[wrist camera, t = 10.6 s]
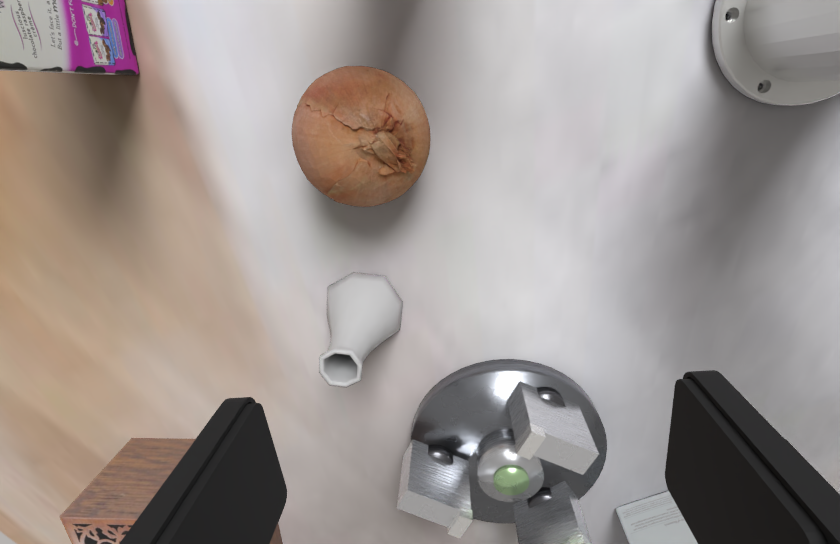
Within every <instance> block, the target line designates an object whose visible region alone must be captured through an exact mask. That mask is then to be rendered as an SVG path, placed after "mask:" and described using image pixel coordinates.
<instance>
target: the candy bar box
mask: <svg viewBox="0 0 840 544" xmlns="http://www.w3.org/2000/svg"><path fill="white" fill-rule="evenodd" d="M0 70H5V71H30V72H54V73H77V74H107V75H137V74H139V70H138V64H137V59H136V54H135V49H134V44H133V39H132V35H131V30H130V25H129V20H128V15H127V10H126V6H125V1H124V0H0Z"/></svg>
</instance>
